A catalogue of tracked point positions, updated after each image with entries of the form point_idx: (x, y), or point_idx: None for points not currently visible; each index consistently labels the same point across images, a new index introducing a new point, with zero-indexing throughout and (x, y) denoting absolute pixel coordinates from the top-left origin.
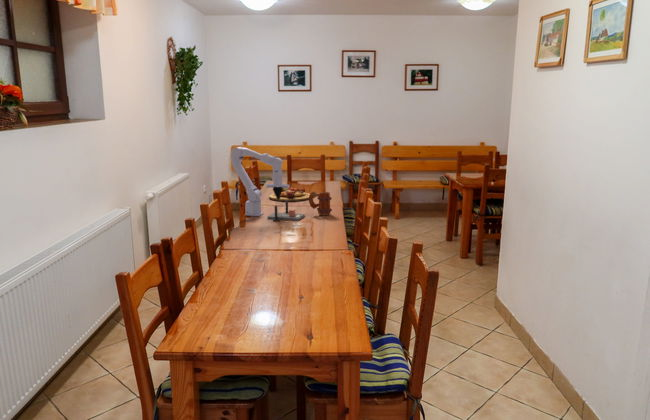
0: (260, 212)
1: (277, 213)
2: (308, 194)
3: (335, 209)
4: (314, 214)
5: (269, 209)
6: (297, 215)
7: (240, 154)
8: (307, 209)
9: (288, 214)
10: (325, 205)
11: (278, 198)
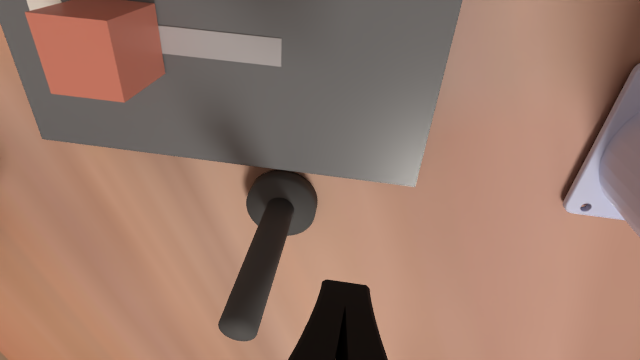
0: (620, 155)
1: (367, 137)
2: None
3: (9, 347)
4: (36, 213)
5: (506, 351)
6: None
7: None
8: (188, 348)
9: (208, 99)
10: None
11: (324, 292)
